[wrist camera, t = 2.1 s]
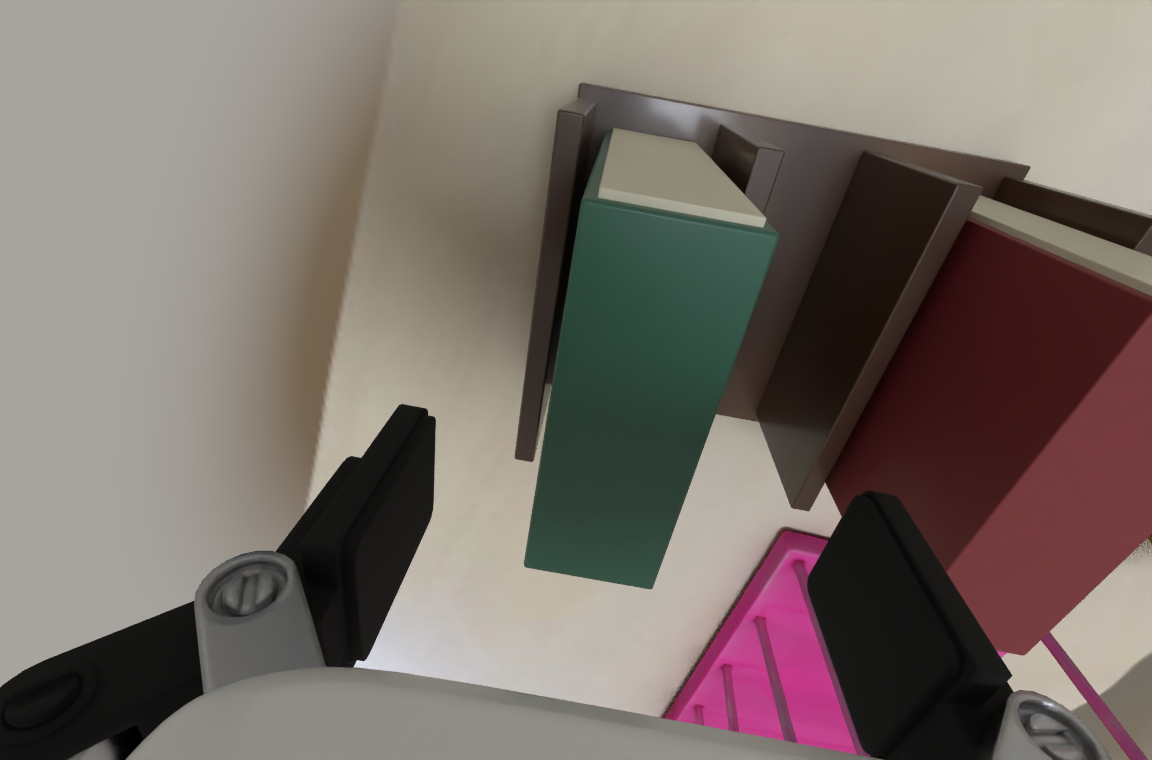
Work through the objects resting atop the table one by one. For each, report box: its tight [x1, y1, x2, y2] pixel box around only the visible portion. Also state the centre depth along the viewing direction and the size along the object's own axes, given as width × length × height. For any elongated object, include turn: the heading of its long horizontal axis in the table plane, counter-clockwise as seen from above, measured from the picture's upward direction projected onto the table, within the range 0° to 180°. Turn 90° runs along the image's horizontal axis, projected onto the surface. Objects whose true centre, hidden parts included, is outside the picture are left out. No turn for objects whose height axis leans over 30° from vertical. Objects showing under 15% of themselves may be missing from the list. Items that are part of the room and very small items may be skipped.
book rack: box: [515, 83, 1152, 511], centre depth 22 cm, size 18×14×8 cm
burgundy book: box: [825, 195, 1152, 655], centre depth 19 cm, size 4×11×13 cm, turn 171°
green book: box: [524, 128, 779, 589], centre depth 19 cm, size 4×11×13 cm, turn 171°
